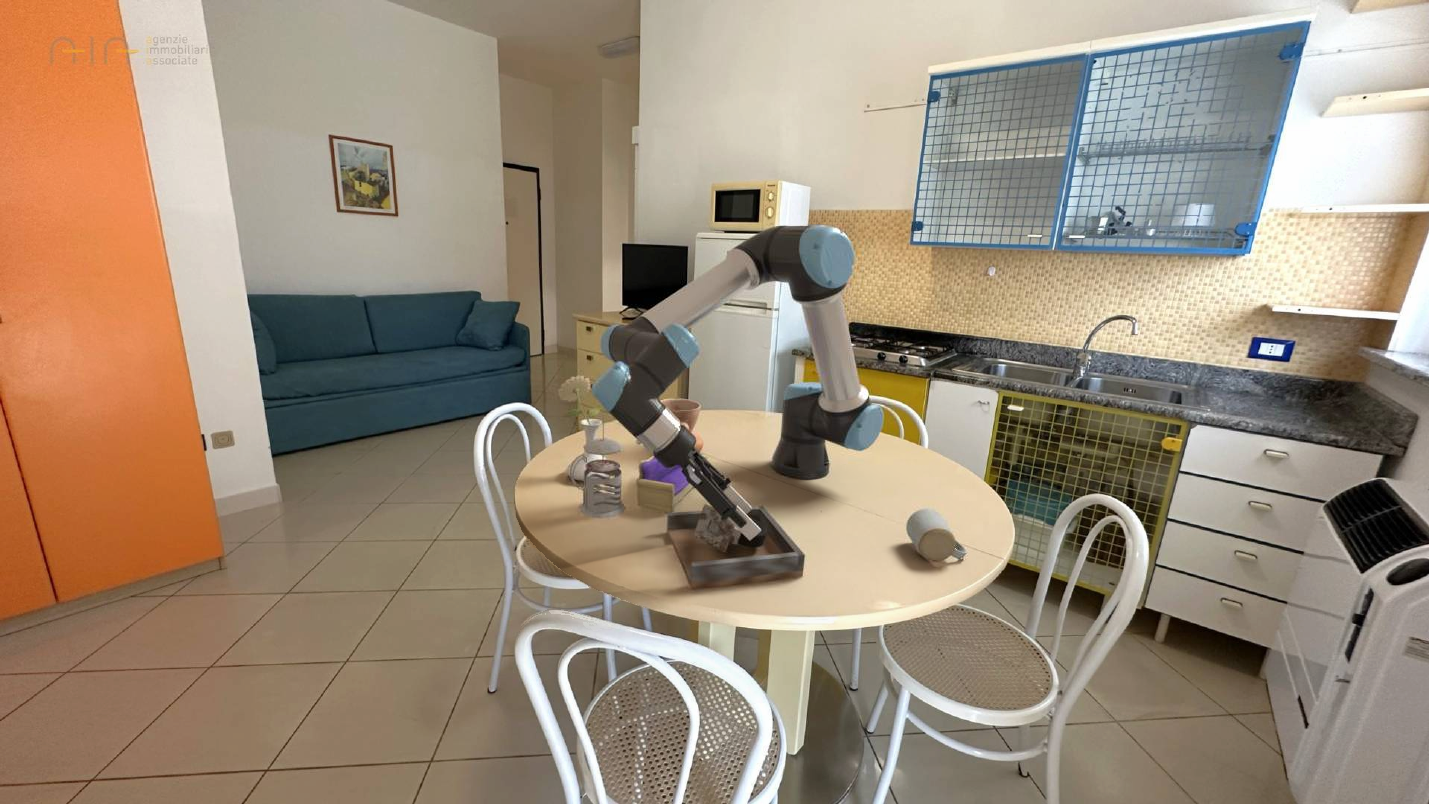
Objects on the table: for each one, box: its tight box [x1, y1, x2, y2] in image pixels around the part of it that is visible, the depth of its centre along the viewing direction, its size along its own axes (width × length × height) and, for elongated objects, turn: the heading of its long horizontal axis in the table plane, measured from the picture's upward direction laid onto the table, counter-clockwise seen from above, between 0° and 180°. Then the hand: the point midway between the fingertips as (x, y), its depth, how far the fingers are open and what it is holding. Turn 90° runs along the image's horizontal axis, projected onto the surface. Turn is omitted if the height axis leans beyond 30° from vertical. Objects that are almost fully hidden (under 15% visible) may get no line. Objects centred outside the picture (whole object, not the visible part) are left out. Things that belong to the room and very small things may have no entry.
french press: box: [569, 406, 627, 519], centre depth 118 cm, size 10×12×25 cm
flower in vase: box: [557, 375, 611, 482], centre depth 134 cm, size 13×11×25 cm
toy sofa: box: [635, 454, 708, 514], centre depth 130 cm, size 21×9×10 cm, turn 160°
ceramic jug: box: [660, 398, 704, 453], centre depth 155 cm, size 18×14×14 cm
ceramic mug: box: [905, 508, 967, 562], centre depth 110 cm, size 11×8×8 cm
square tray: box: [666, 505, 806, 590], centre depth 106 cm, size 20×20×4 cm
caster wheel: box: [694, 503, 767, 552], centre depth 105 cm, size 7×11×10 cm
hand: (750, 523), depth 105 cm, fingers closed on caster wheel, 8 cm apart
